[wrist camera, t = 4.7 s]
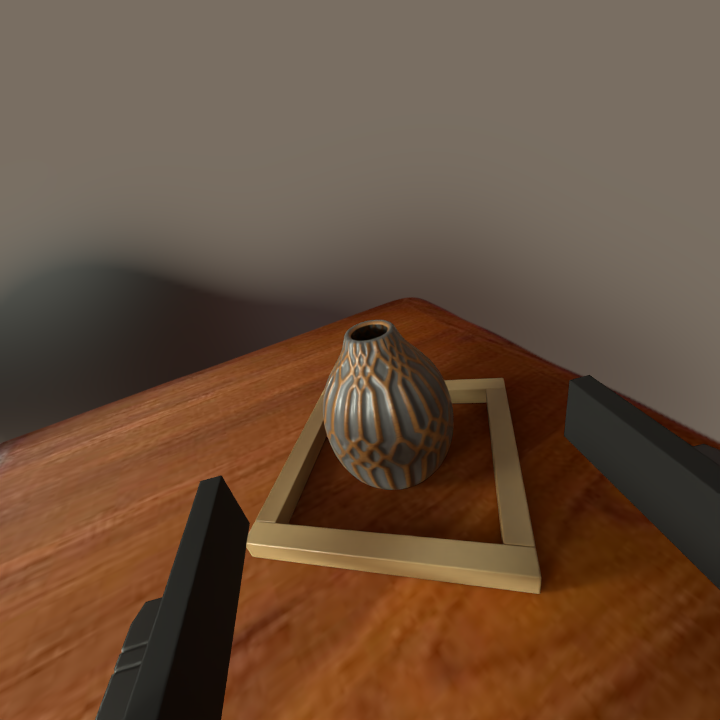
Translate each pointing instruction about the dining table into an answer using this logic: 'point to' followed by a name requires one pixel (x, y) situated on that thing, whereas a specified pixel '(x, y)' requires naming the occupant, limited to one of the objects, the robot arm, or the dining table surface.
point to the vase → (386, 409)
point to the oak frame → (401, 552)
